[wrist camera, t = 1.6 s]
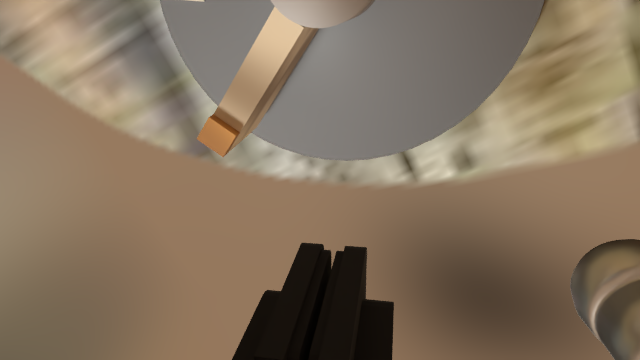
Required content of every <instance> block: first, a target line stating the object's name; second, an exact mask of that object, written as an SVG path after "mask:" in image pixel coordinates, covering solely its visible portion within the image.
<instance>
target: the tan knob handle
mask: <svg viewBox="0 0 640 360" xmlns="http://www.w3.org/2000/svg"><path fill="white" fill-rule="evenodd" d="M374 1H375V0H271V2H272V3H273V5H274V6H275V7H274V9H273V10H272V12H271V14H270V16H269V17H268V19H267V21H266V23H265V25H264V26H263V28H262V30H261V32H260V33H259V35H258V37H257V39H256V40H255V42H254V44H253V46H252V48H251V49H250V51H249V53H248V55H247V56H246V58H245V60H244V62H243V63H242V65H241V67H240V69H239V71H238V72H237V74H236V76H235V78H234V79H233V81H232V83H231V85H230V86H229V88H228V90H227V92H226V94H225V95H224V97H223V99H222V101H221V102H220V104H219V106H218V108H217V109H216V111H215V113H214V114H213V115H212V116H210V117H209V118H208V120H207V122H206V123H205V125H204V127H203V129H202V130H201V132H200V134H199V136H198V138H197V139H198V140H199V141H200V142H202V143H203V144H205V145H206V146H208V147H209V148H211V149H212V150H214V151H215V152H216V153H218V154H219V155H221V156H222V157H224V156H225V155H226V154H227V153H228V152H229V151H231V150H232V149H233V148H234V147H235V146H236V145H237V144H239V143H240V142H241V141H242V140H243V139H244V138H245V137H246V136H248V135H249V134H250V133H251V132H252V131H253V130H254V129H256V128H257V126H258V125H259V123H260V121H261V120H262V118H263V117H264V115H265V113H266V112H267V110H268V109H269V107H270V106H271V104H272V102H273V101H274V99H275V98H276V96H277V94H278V93H279V91H280V90H281V88H282V86H283V85H284V83H285V82H286V80H287V78H288V77H289V75H290V74H291V72H292V70H293V69H294V67H295V66H296V64H297V62H298V61H299V59H300V58H301V56H302V54H303V53H304V51H305V50H306V48H307V46H308V45H309V43H310V42H311V40H312V39H313V37H314V35H315V34H316V32H317V31H318V29H319V28H327V27H332V26H335V25H338V24H340V23H343V22H345V21H348V20H350V19H353V18H355V17H357V16H359V15H361V14H362V13H363V12H365V11H366V10H367V9H368V8H369V7H370V6H371V5H372V4H373V2H374Z"/></svg>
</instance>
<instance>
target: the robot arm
mask: <svg viewBox="0 0 640 360" xmlns="http://www.w3.org/2000/svg"><path fill="white" fill-rule="evenodd" d="M366 261H367V248H366V247H353V246H345V249H344V251H337V252H336V255H335V259H334V262H333V266H332V270H331V251H330V250H324V246H323V244H313V243H302V244H301V245H300V248H299V250H298V252H297V255H296V257H295V260H294V262H293V264H292V267H291V269H290V271H289V274H288V276H287V278H286V281H285V283H284V286H283V288H282V290H281V291H272V290H267V291H265V293H264V294H263V296H262V298H261V300H260V302H259V304H258V306H257V308H256V310H255V312H254V315H253V317H252V319H251V321H250V323H249V325H248V327H247V329H246V331H245V333H244V336H243V338H242V340H241V342H240V344H239V346H238V348H237V350H236V352H235V354H234V356H233V359H232V360H392V343H393V310H394V303H393V302H388V301H378V300H367V299H366Z"/></svg>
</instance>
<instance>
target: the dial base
mask: <svg viewBox="0 0 640 360" xmlns="http://www.w3.org/2000/svg"><path fill="white" fill-rule="evenodd" d="M160 3H161V7H162V11H163V14H164V17H165V20H166V23H167V26H168V28H169V31H170V34H171V37H172V39H173V41H174V43H175V45H176V47H177V49H178V51H179V53H180V55H181V57H182V59H183V61H184V62H185V64H186V66H187V67H188V69H189V70H190V72H191V74H192V75H193V77H194V78H195V80H196V81H197V82H198V84H199V85H200V86H201V87H202V89H203V90H204V91H205V92H206V94H207V95H208V96H209V97H210V98H211V99H212V100H213V101H214V102H215V103H216V104H217V105H218V106H219V104H220V102H221V101H222V99H223V97H224V95H225V94H226V92H227V90H228V88H229V86H230V85H231V83H232V81H233V79H234V78H235V76H236V74H237V72H238V71H239V69H240V67H241V65H242V63H243V62H244V60H245V58H246V56H247V55H248V53H249V51H250V49H251V48H252V46H253V44H254V42H255V40H256V39H257V37H258V35H259V33H260V32H261V30H262V28H263V26H264V25H265V23H266V21H267V19H268V17H269V16H270V14H271V12H272V10H273V9H274V7H275V6H274V5H273V3H272V2H271V0H160ZM543 3H544V0H375V1H374V2H373V4H372V5H371V6H370V7H369V8H368V9H367V10H366V11H365V12H363V13H362V14H361V15H359V16H357V17H355V18H353V19H350V20H348V21H345V22H343V23H340V24H338V25H335V26H332V27H327V28H319V29H318V31H317V32H316V34H315V35H314V37H313V39H312V40H311V42H310V43H309V45H308V46H307V48H306V50H305V51H304V53H303V54H302V56H301V58H300V59H299V61H298V62H297V64H296V66H295V67H294V69H293V70H292V72H291V74H290V75H289V77H288V78H287V80H286V82H285V83H284V85H283V86H282V88H281V90H280V91H279V93H278V94H277V96H276V98H275V99H274V101H273V102H272V104H271V106H270V107H269V109H268V110H267V112H266V113H265V115H264V117H263V118H262V120H261V121H260V123H259V125H258V126H257V128H256V129H254V130H253V131H252V132H251V133H253V134H255V135H256V136H258V137H259V138H261V139H263V140H265V141H267V142H269V143H271V144H274V145H276V146H278V147H280V148H282V149H285V150H289V151H292V152H295V153H298V154H301V155H305V156H310V157H316V158H321V159H329V160H345V161H348V160H364V159H373V158H378V157H383V156H389V155H393V154H396V153H399V152H402V151H405V150H408V149H412V148H414V147H416V146H419V145H421V144H423V143H425V142H427V141H429V140H432V139H434V138H436V137H437V136H439V135H441V134H442V133H444V132H446V131H447V130H449V129H450V128H452V127H454V126H455V125H457V124H458V123H459V122H460V121H462V120H463V119H464V118H466V117H467V116H468V115H469V114H471V113H472V112H473V111H474V110H476V109H477V108H478V107H479V106H480V105H481V104H482V103H483V102H484V101H485V100H486V99H487V98H488V97H489V96H490V95H491V94H492V93H493V91H494V90H495V89H496V88H497V87H498V86H499V84H500V83H501V82H502V80H503V79H504V78H505V77H506V75H507V74H508V73H509V71H510V70H511V69H512V67H513V66H514V64H515V62H516V61H517V59H518V57H519V56H520V54H521V52H522V51H523V49H524V48H525V46H526V44H527V42H528V40H529V38H530V36H531V33H532V31H533V29H534V27H535V25H536V22H537V20H538V18H539V16H540V13H541V9H542V6H543Z"/></svg>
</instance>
